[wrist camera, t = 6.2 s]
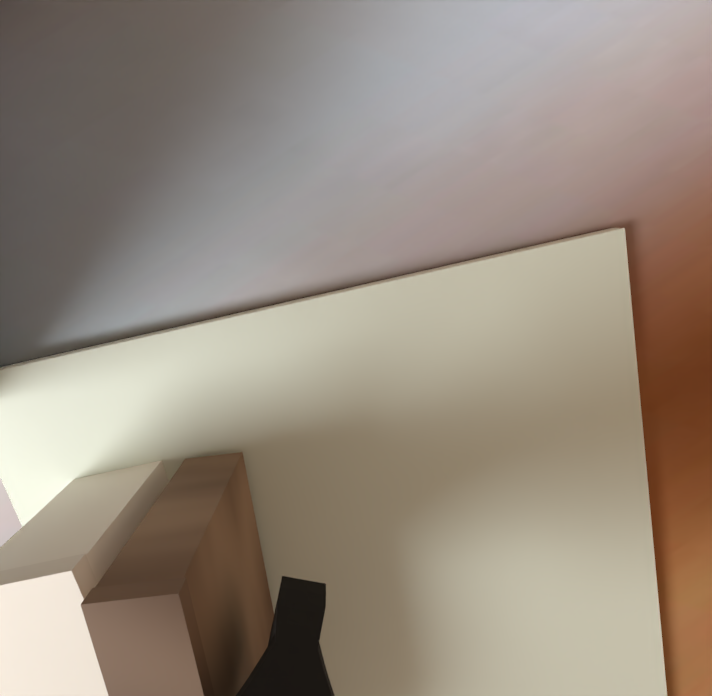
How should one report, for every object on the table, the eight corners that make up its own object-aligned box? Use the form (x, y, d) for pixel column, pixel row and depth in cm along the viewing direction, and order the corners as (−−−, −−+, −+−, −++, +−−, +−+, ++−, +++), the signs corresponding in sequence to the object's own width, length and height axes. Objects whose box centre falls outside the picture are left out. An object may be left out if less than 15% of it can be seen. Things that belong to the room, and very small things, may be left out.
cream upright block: (110, 550, 15) (-17, 723, 10) (75, 464, 15) (-80, 601, 9) (203, 531, 15) (124, 695, 10) (173, 443, 15) (71, 570, 9)
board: (195, 885, 19) (191, 906, 19) (-27, 373, 14) (-44, 379, 13) (668, 803, 18) (679, 822, 18) (612, 227, 13) (624, 227, 13)
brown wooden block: (299, 737, 16) (275, 984, 11) (248, 743, 16) (199, 991, 11) (244, 452, 14) (178, 593, 8) (183, 458, 14) (80, 604, 9)
